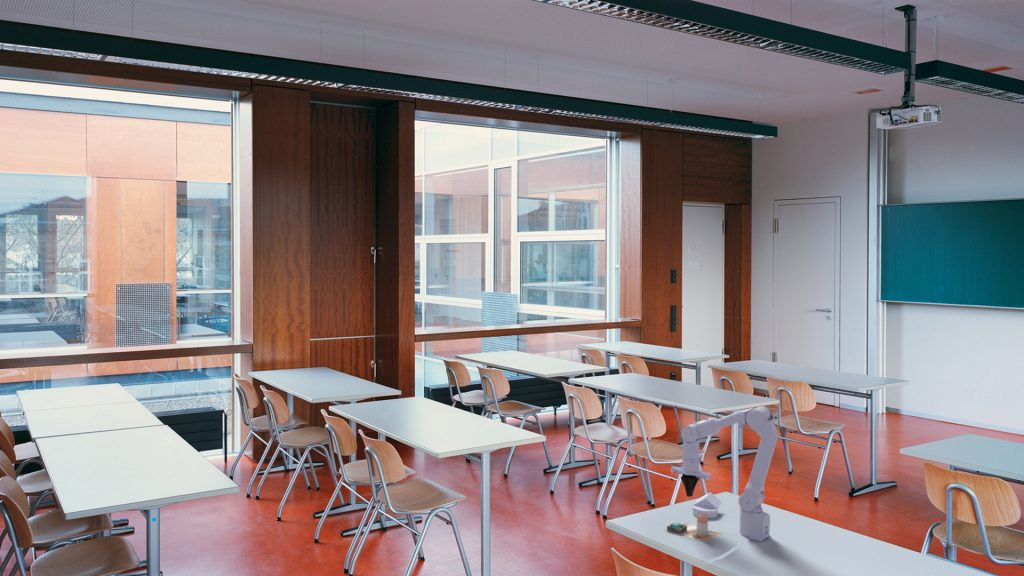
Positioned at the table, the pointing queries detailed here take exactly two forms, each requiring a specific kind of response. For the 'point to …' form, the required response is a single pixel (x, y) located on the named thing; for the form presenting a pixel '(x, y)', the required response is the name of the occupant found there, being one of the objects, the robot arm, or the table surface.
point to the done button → (677, 525)
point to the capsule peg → (702, 526)
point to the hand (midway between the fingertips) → (689, 495)
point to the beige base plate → (692, 532)
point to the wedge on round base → (707, 506)
